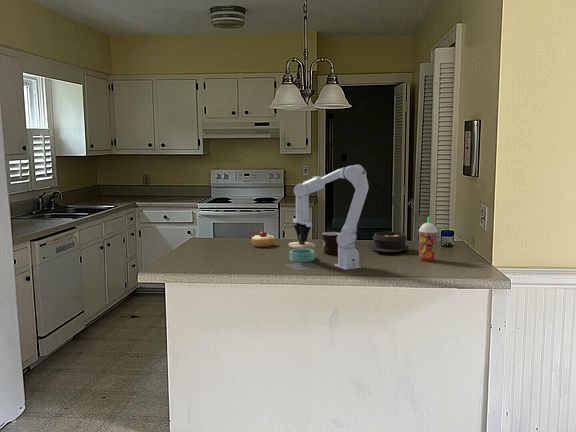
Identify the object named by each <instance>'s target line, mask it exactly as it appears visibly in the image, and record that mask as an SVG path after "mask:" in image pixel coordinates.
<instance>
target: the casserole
mask: <svg viewBox="0 0 576 432" xmlns="http://www.w3.org/2000/svg"><path fill="white" fill-rule="evenodd" d="M371 238H372V240H373V243H372V244H371V245H370V247H371V248H372V249H373V250H375V251H376V252H378V253H379V252H380V253H381V252H382V253H389V254H391V253H393V254H394V253H400V252H402V251H406V250H408V249H409V248H410V246H408V245H407V244H406V241H407V240H408V238H407V237H406V234H405V233H403V232H398V231H378V232H375V233H374V234H373V236H372V237H371Z"/></svg>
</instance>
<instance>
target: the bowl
mask: <svg viewBox="0 0 576 432" xmlns="http://www.w3.org/2000/svg"><path fill="white" fill-rule="evenodd" d="M289 260H290V261H292V262H295V263H296V262H297V263H304V262H312V261H315V250H314V249H312V248H305V249H302V248H293V249H291V250H289Z"/></svg>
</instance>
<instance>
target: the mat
mask: <svg viewBox="0 0 576 432" xmlns="http://www.w3.org/2000/svg"><path fill="white" fill-rule="evenodd" d="M285 266H286V267H288V268H291V269H292V270H295V271H306V270H314V269H322V268H323V267H322V266H320V265H317V264H315V263H313V262H311V261H308V262H297V263H296V262H295V263H289V264H288V263H287V264H285Z"/></svg>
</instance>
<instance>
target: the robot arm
mask: <svg viewBox="0 0 576 432" xmlns="http://www.w3.org/2000/svg"><path fill="white" fill-rule="evenodd" d="M338 179H345V180H347V181H349V182H350V183H351V184H352V186H353V188H354V189H355V190H354V193H353V197H352V200H351V203H350V206H349V210H348V213H347V217H346V220H345V223H344V225H343V226H342V228H341V231H340V232H339V233H340V234H339V235H338V236H337V243H338V254H337V263H335V264H334V267H335V266H336V267H338V268H340V269H342V270H344V271H345V270H351V269H352V270H353V269H361V266H360V252H359V251H358V250H357V248H356V244H355V242H356V241H357V232H358V231H357V230H358V223H359V221H360V216H361V214H362V210H363V207H364V204H365V202H366V201H365V200H366V198H367V195H368V193H369V192H368V191H369V188H370V187H369V182H368V178H367V171H366V169H365V168H364V167H363V166H362V165H360V164H354V165H348V166H346V167H342V168H341V167H340V168H338V169H336V170H334V171H332V172H330V173H328V174H326V175H324V176H320V175H317V176H316V175H313V176H312V178H311V179H308V180H303V183H297V184H296V185H295V186H294V188H293V193H294V194H293V195H295V217H294V218H293V219H292V223H293V226H292V227H293V228H294V230H295V233H296V236H297V240H298V241H299V234H301V241H302V242H307V239H308V236H309V232H310V230H311V229H312V228H313V223H312V222H311V220H310V218H309V210H310V209H309V208H310V207H309V205H310V203H309V202H310V200H309V199H310V198H309V196H310V194H313V193H316V192H317V191H320V190H322V189H324V187H325V185H326V184H328V183H330V182H334V181H335V180H338Z"/></svg>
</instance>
